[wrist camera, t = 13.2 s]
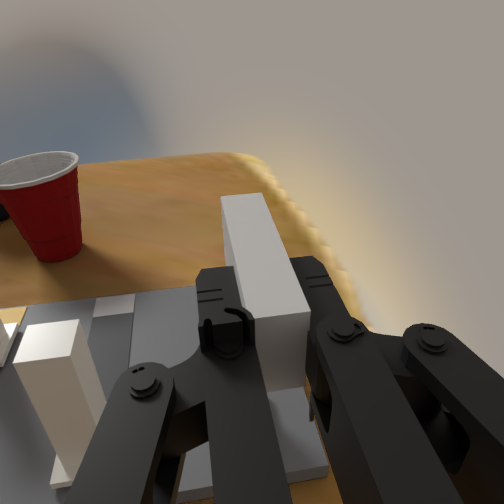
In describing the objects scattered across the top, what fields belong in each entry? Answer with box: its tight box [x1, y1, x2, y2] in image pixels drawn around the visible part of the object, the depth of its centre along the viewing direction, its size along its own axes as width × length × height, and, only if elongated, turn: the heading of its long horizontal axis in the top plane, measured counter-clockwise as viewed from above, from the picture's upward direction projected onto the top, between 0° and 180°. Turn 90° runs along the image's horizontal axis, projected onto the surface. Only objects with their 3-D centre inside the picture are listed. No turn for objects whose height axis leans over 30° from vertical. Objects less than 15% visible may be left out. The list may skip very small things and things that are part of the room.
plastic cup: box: [0, 151, 82, 262], centre depth 53 cm, size 11×11×12 cm
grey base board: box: [0, 286, 329, 504], centre depth 37 cm, size 33×22×2 cm, turn 100°
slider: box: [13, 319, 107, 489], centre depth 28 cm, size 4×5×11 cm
